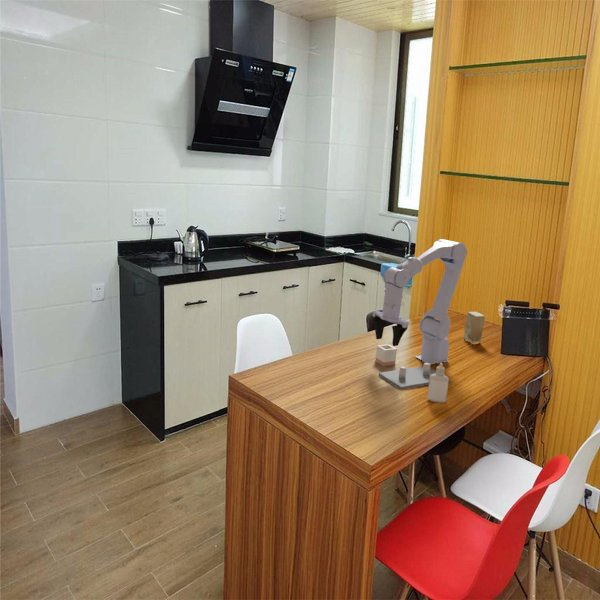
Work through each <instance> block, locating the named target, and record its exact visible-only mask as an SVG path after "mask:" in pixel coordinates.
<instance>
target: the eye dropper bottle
mask: <svg viewBox="0 0 600 600" xmlns="http://www.w3.org/2000/svg"><path fill="white" fill-rule="evenodd" d="M443 365H444V364H443V363H439V365H438V366H436V370H435V371H436V374H432V375H430V380H429V385H428V389H427V395H426V396H427V397H426V399H427V400H428V401H430V402H433V403H439V404H440V403H442V404H443V403H446V402H447V397H448V388H449V382H450V380H449V379H450V378H449V377H448V376H447V375H446V374H445V369H446V368H445V367H444V366H443Z"/></svg>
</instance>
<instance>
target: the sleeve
mask: <svg viewBox="0 0 600 600" xmlns="http://www.w3.org/2000/svg"><path fill="white" fill-rule="evenodd" d="M397 350H398V348H396V346H393V345H391V344H389V343H387V344H378V345H376V350H375V352H376V353H375V363H377V364H379V365H380V366H381V367H389V366H395V365H396V361H397Z"/></svg>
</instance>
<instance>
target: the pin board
mask: <svg viewBox="0 0 600 600" xmlns="http://www.w3.org/2000/svg"><path fill="white" fill-rule="evenodd" d="M431 365H432V364H429V363H425V362H423V365H422V366H421V365H420V366H417V367H415V366H414V367H411V368H410V367H408V368H407V366H400V367H399V369H396V370H395V369H394V370H390V371H383V372H379V373H378V376H379V378H382V379H383V380H385V381H386V382H388V383H389V384H391V385H392V386H394V387H395V388H397V389H399V390H400V391H402V390H408V389H413V388H418V387H424V385H426V386H429V380H430V375H432V374H436V370H434V369H433V368H431ZM449 381H450V378H449Z"/></svg>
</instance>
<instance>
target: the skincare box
mask: <svg viewBox="0 0 600 600" xmlns="http://www.w3.org/2000/svg"><path fill="white" fill-rule="evenodd" d="M485 318H486V316H485V315H484V314H482V313H480V312H478V311H467V315H466V321H465V328H464V333H463V339H464V338H465V339H466V340H468V341H470V342H471V343H474V342H481V343H482V338H483V337H482V336H483V332H484V331H483V330H484V326H485V325H484V324H485V320H486V319H485Z"/></svg>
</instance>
